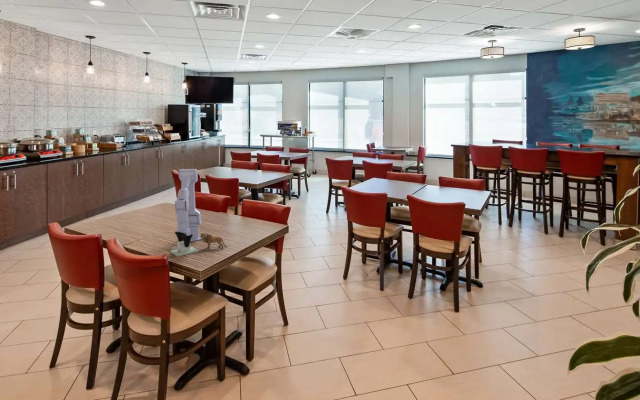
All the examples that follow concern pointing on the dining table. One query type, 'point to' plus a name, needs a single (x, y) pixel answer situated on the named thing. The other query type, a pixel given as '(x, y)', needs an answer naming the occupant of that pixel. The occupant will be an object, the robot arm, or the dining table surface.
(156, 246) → the dining table surface
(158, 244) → the dining table surface
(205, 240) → the lion figurine
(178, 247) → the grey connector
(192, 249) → the pale green rectangular panel
